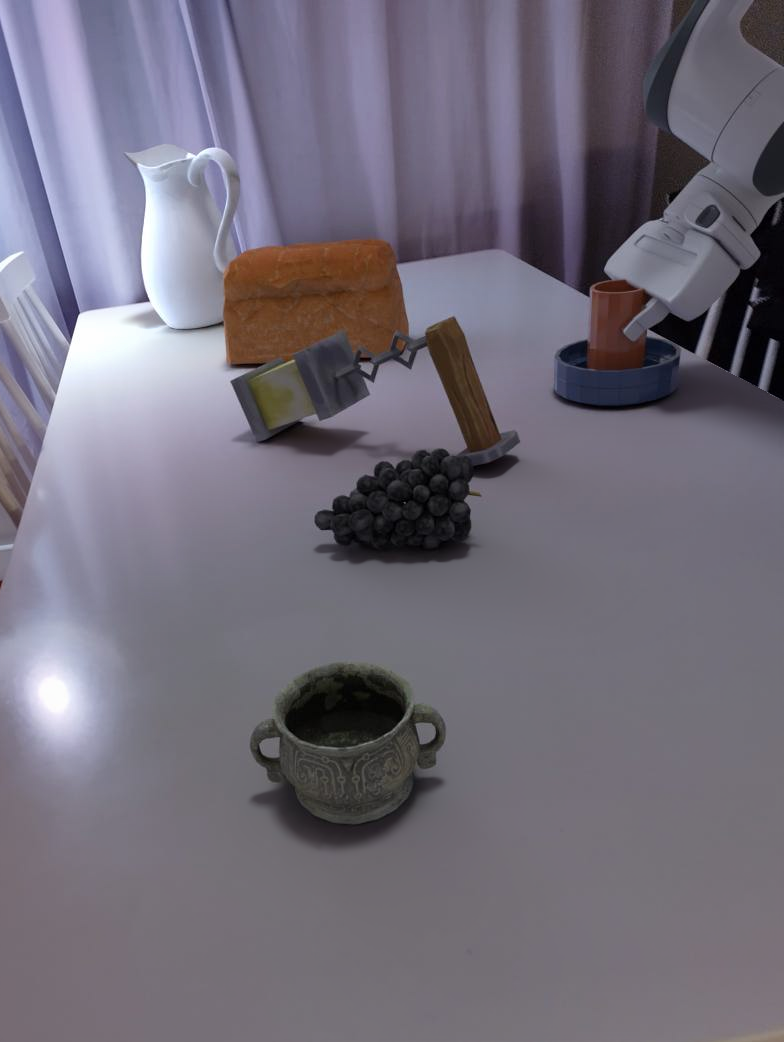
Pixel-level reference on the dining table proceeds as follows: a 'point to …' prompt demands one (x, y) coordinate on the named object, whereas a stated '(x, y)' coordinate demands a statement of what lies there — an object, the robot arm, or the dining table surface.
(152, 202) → the pitcher
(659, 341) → the bowl
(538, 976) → the dining table surface
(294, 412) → the lantern
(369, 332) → the bread
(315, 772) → the vessel
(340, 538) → the fruit
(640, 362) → the cup
